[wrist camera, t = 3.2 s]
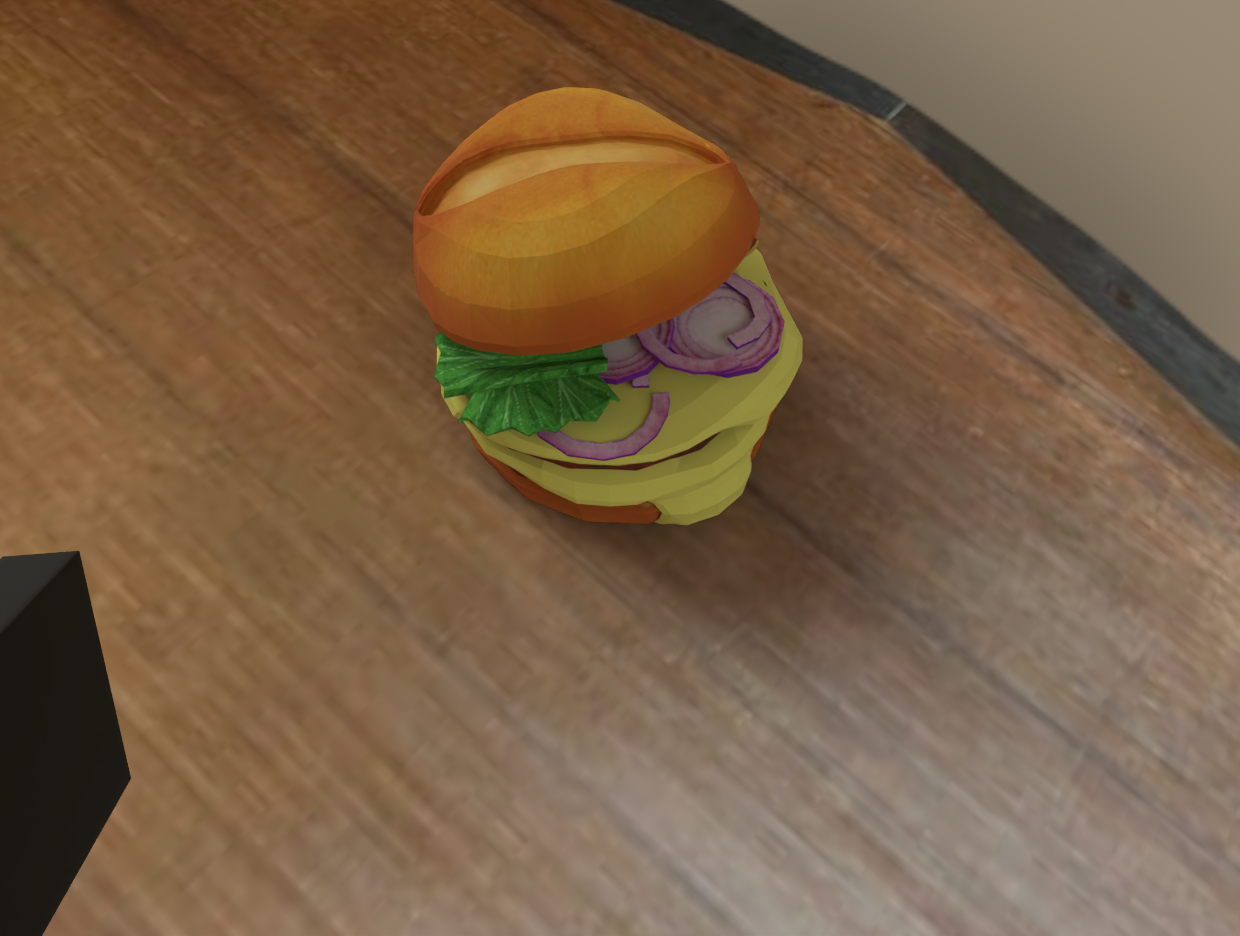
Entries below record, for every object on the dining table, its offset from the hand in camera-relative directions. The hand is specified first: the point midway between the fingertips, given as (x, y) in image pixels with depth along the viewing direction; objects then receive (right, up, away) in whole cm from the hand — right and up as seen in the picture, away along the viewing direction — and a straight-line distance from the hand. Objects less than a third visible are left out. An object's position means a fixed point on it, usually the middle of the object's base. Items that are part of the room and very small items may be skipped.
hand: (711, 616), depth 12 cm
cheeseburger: (-2, +4, +22) cm, 22 cm away
